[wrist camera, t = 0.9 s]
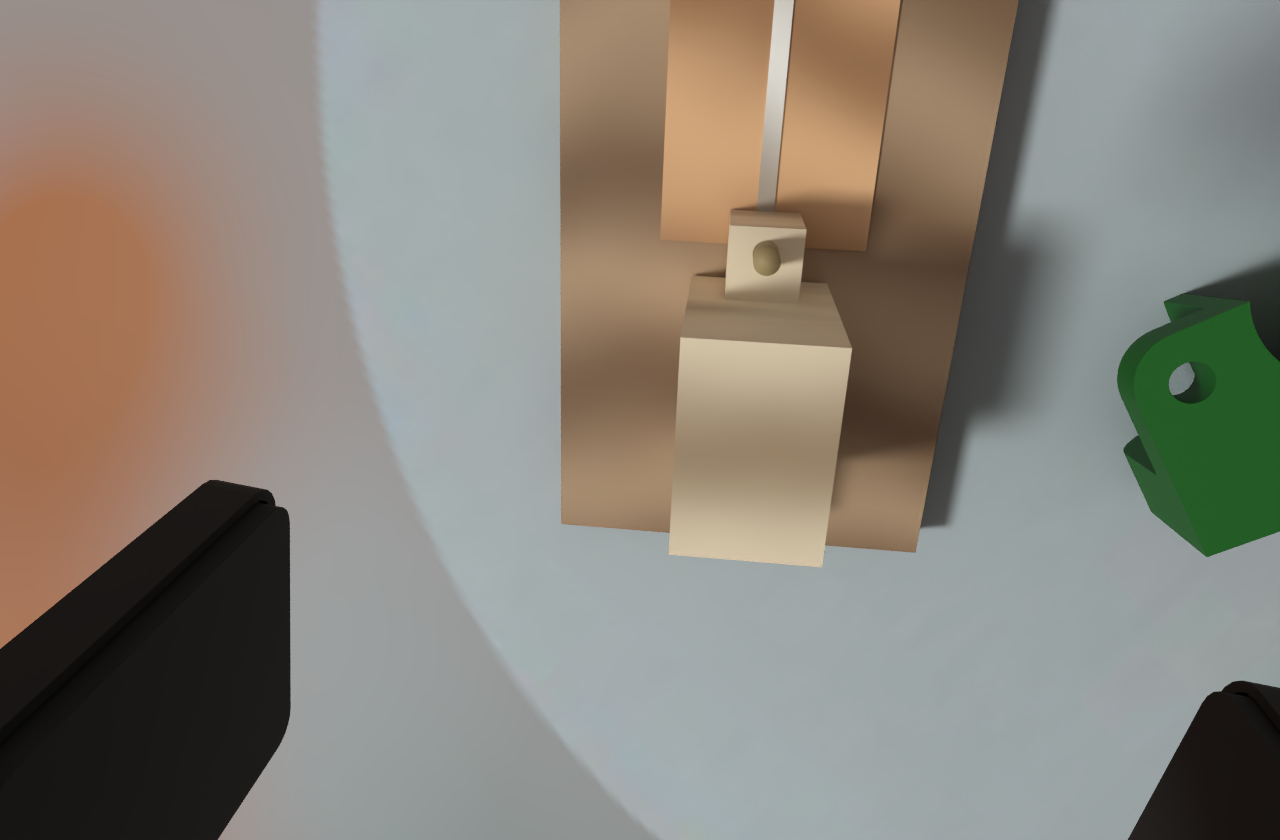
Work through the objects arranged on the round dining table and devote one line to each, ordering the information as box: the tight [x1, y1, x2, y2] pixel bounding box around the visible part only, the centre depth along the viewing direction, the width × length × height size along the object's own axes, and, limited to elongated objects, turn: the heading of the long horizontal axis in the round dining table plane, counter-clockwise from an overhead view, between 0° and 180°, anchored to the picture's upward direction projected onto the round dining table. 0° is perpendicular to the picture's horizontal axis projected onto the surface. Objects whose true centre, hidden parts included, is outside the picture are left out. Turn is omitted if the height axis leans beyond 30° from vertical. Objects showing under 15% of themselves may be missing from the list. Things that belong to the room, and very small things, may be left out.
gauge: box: [669, 210, 852, 567], centre depth 24 cm, size 10×4×6 cm, turn 178°
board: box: [560, 0, 1019, 552], centre depth 26 cm, size 22×12×2 cm, turn 178°
